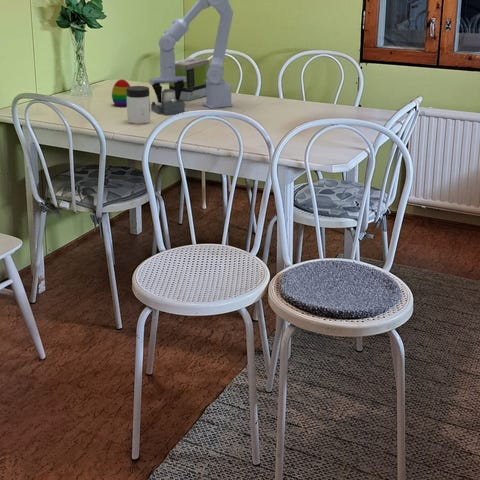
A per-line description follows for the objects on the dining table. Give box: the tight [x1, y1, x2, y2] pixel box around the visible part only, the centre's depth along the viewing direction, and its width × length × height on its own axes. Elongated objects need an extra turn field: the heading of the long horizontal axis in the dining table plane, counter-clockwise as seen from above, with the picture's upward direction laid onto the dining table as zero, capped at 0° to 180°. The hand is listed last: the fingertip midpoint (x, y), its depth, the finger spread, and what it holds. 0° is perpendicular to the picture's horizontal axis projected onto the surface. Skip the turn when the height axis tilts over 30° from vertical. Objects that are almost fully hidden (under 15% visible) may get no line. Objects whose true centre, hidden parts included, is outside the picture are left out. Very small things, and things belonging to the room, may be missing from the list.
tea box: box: [168, 57, 210, 102], centre depth 326 cm, size 15×10×15 cm
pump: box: [161, 88, 175, 102], centre depth 312 cm, size 5×5×6 cm
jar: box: [126, 85, 151, 125], centre depth 286 cm, size 9×8×12 cm
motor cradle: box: [150, 99, 186, 116], centre depth 302 cm, size 10×11×5 cm
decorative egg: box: [111, 79, 131, 107], centre depth 311 cm, size 8×8×10 cm
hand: (168, 101), depth 313 cm, fingers open, 7 cm apart
